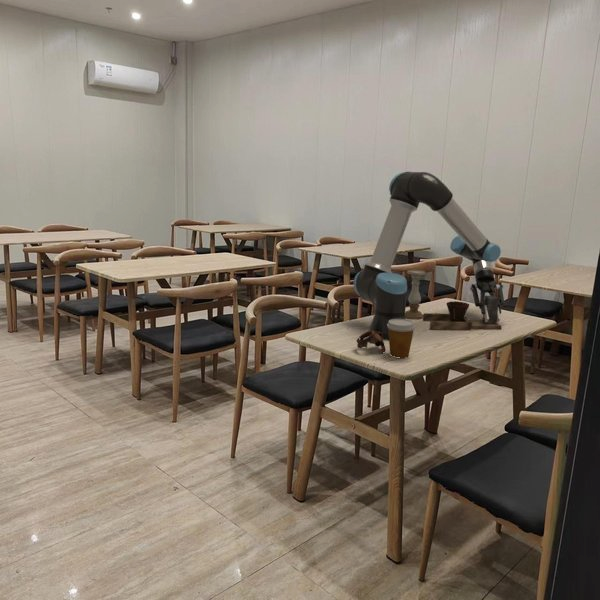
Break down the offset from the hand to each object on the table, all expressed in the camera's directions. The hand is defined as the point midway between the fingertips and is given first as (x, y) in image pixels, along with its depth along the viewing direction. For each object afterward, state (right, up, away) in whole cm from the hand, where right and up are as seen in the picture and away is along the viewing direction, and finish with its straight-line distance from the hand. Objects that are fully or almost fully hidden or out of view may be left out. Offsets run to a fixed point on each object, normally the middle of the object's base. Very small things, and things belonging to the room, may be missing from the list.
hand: (492, 320), depth 221 cm
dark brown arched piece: (-53, -10, -29) cm, 61 cm away
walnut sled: (-11, -2, +5) cm, 12 cm away
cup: (-14, -2, +5) cm, 15 cm away
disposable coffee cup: (-44, -11, -34) cm, 57 cm away
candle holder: (-29, +1, +17) cm, 34 cm away
